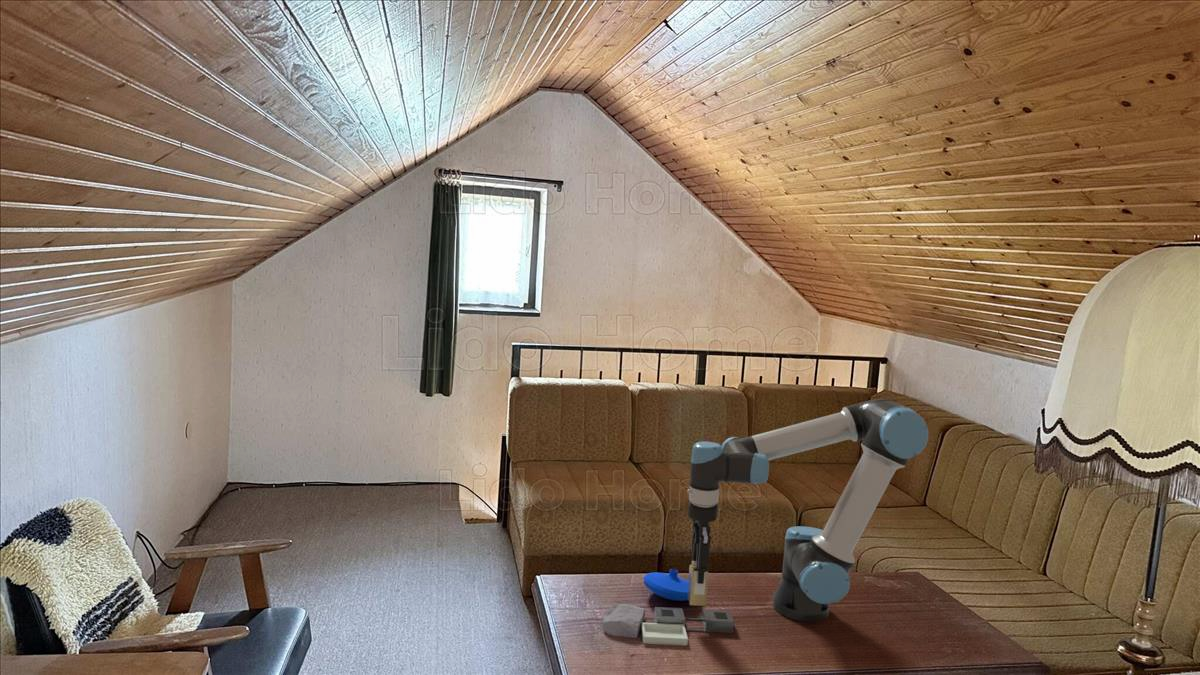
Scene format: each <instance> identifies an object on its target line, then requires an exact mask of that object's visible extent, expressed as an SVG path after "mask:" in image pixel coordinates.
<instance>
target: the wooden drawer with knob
mask: <svg viewBox="0 0 1200 675" xmlns="http://www.w3.org/2000/svg"><path fill="white" fill-rule="evenodd" d="M693 568H696V565H692V564H689V568H688V570H689V571H688V581H689V583H688V600H687V601H688V604H689V606H707V598H708V586H709V584H708V583H709V571H708V572H706V578H705V593H704V595H695V594H694V593H693V592H694V577H695V571H693Z"/></svg>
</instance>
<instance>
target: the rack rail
mask: <svg viewBox="0 0 1200 675" xmlns="http://www.w3.org/2000/svg"><path fill="white" fill-rule="evenodd" d="M653 612H654V613H653V621H654V623H665V624H684V626H685V627H686V621H701V623H702V625H703V628H704V629H703V628H702V629H701V628H700V629H698V628H685V630H686V632H705V633H722V634H723V633H727V634H729V633H730V634H733V633H734V631H735V630H734V629H735V620H734V618H733V615H732V613H731V611H730V610H729V609H727V610H726V609H724V610H723V609H722V610H721V609H706V608H705V609H704V608H703V609H701V618H698V617H697V618H696V617H685V613H684V610H683V608H682V607H681V608H680V607H663V606H661V607H660V606H655V607H654V610H653Z"/></svg>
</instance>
